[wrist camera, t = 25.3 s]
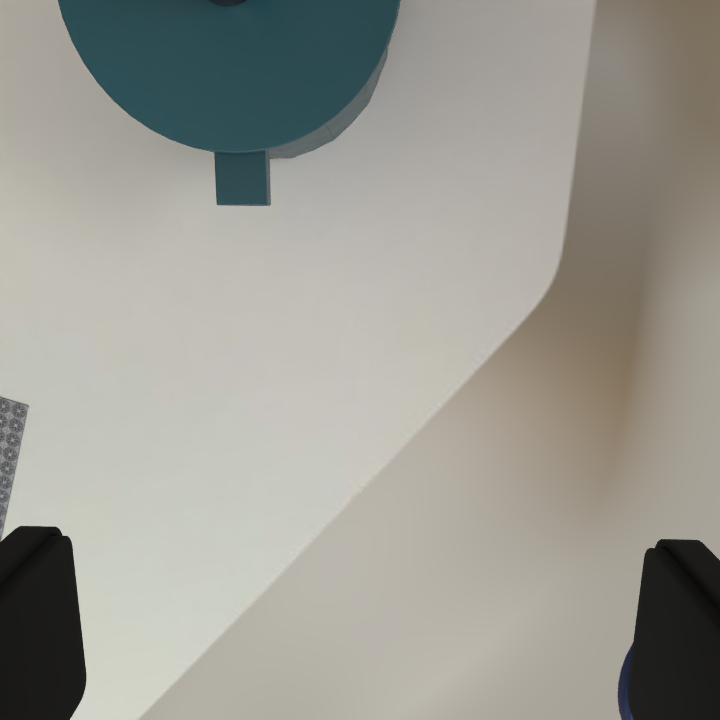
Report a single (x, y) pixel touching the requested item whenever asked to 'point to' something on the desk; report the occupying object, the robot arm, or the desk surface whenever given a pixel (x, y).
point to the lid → (232, 64)
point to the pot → (278, 156)
